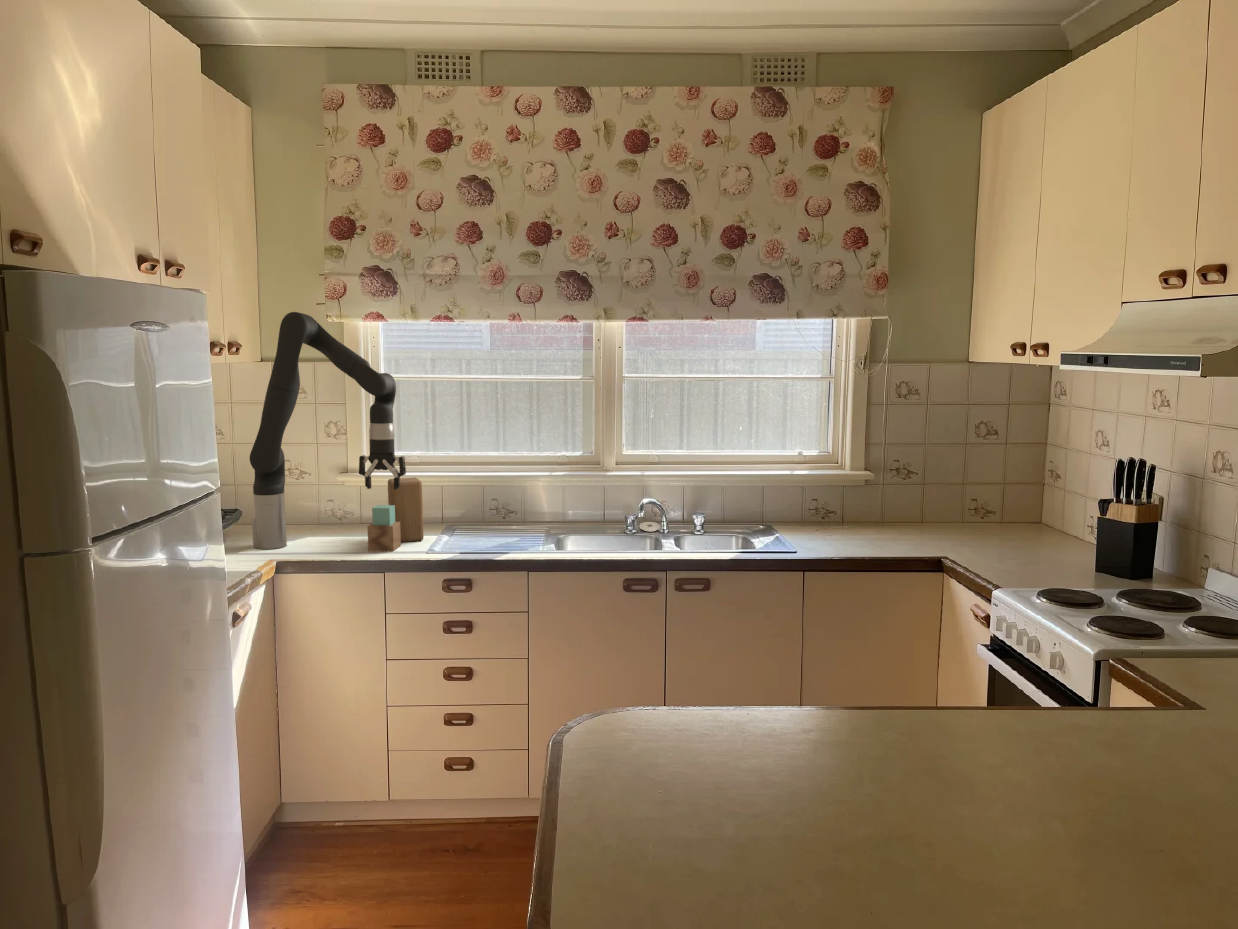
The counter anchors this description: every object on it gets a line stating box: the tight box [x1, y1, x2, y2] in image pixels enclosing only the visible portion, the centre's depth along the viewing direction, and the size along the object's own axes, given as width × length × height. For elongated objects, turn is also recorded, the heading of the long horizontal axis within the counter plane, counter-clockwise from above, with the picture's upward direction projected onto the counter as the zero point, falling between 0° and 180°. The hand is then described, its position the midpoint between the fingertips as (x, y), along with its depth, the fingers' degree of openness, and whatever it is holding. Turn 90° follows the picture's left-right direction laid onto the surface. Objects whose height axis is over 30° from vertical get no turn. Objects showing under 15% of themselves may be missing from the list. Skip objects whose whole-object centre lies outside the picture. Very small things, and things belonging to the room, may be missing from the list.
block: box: [387, 477, 425, 543], centre depth 304 cm, size 10×10×20 cm
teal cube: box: [371, 504, 395, 526], centre depth 290 cm, size 6×6×6 cm
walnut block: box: [367, 522, 402, 552], centre depth 291 cm, size 8×8×8 cm
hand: (382, 488), depth 289 cm, fingers open, 8 cm apart
